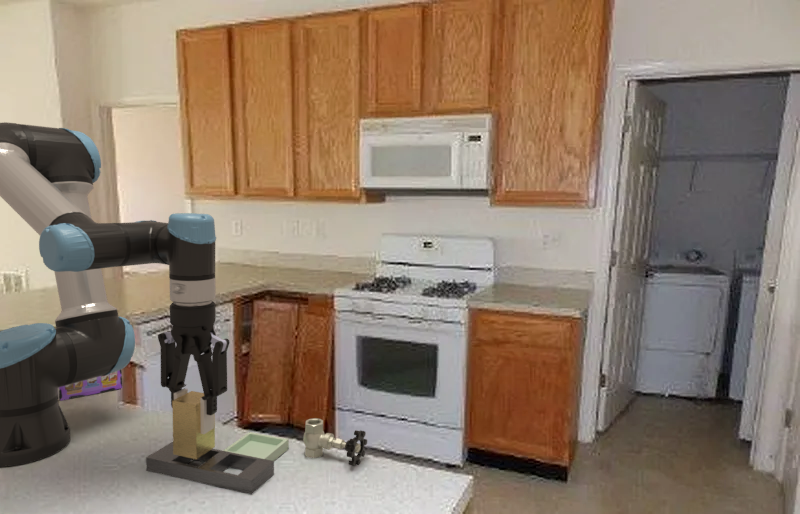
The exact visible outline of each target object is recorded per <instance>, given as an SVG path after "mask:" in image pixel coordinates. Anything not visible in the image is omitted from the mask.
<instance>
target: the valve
mask: <svg viewBox="0 0 800 514" xmlns="http://www.w3.org/2000/svg"><path fill="white" fill-rule="evenodd" d="M304 430H305V431H304V433H303V437H302V439H303V444H304V446H305V451H304V454H305V455H304V456H305V457H306V458H311V459H317V458H320V457H323V456H324V455H323V454H324V453H323V452H324V450H328V451H330V450H331V449H332V448H335V449H340V450H343V449H345V450H344V451H346V458H350V459H351V460H348V466H352V467H354V466H360V464H361V462H362V461H361V458H362V457H365V455H366V450H364V449H365V446H366V445H367V444H368V439H367V438H365V437H366V431H365V430H361V429H360V430H357V429H356V430H354V431H353V435H354V436H355V437H353V438H349V440H347V441H346V442H345V440H344V439H342V438H341V439H340V438H335V435H334V433H330V432H326V433H325V431H324V420H323V419H321V418H317V417H314V418H309V419H306V420H305V428H304ZM358 442H360V443H358ZM356 453H357V454H356Z"/></svg>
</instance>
